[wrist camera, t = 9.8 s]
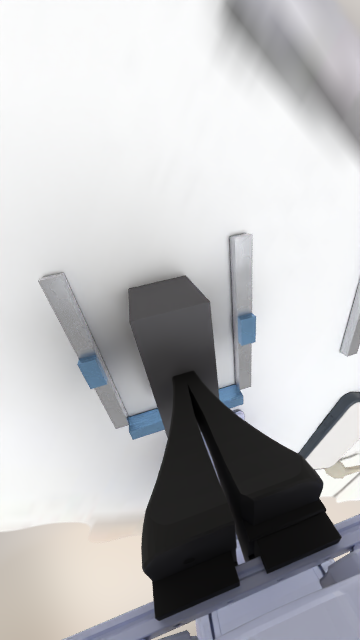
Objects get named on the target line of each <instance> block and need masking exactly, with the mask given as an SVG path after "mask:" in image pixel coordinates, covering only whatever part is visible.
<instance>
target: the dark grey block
mask: <svg viewBox="0 0 360 640" xmlns="http://www.w3.org/2000/svg"><path fill="white" fill-rule="evenodd" d="M129 317H130V324H131V327H132V330H133V333H134V337H135V340H136V343H137V346H138V349H139V352H140V355H141V358H142V361H143V364H144V367H145V370H146V373H147V376H148V379H149V382H150V385H151V389H152V392H153V395H154V398H155V401H156V404H157V407H158V410H159V413H160V416H161V419H162V422H163V425H164V428H165V431H166V434H167V437H168V436H169V430H170V425H171V417H172V409H173V381H172V378H173V376H177V375H180V374H183V373H187V372H190V371H195V372H196V374H197V375H198V377H199V378H200V379H201V380H202V382H203V383H204V384H205V385H206V386H207V387H208V388H209V390H210V391H211V392H212V393H213V394H214V395H215V396H216V397H217V398H218V399H219V390H218V380H217V369H216V359H215V349H214V339H213V329H212V319H211V309H210V301H209V300H208V299H207V298H206V297H205V296H204V295H203V294H202V293H201V292H200V290H199V289H198V288H197V287H196V286H195V285H194V284H193V283H192V282H191V281H190V280H189V279H188V278H187V277H186V276H182V277H177V278H173V279H169V280H164V281H160V282H156V283H152V284H147V285H143V286H139V287H134V288H130V289H129ZM197 424H198V423H197ZM199 429H200V428H199ZM200 432H201V430H200Z"/></svg>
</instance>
